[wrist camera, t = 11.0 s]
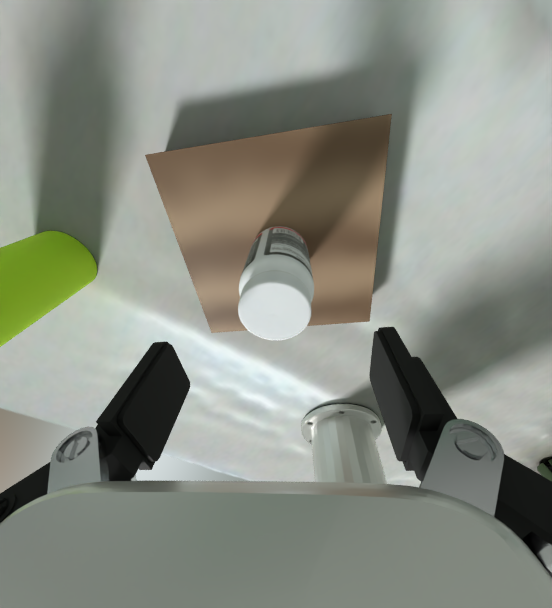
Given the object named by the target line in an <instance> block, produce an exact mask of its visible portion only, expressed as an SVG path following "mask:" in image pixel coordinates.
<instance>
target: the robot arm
mask: <svg viewBox="0 0 552 608" xmlns="http://www.w3.org/2000/svg"><path fill="white" fill-rule="evenodd" d="M370 381H371V384H372V387H373V390H374V393H375V396H376V399H377V402H378V405H379V408H380V411H381V414H382V417H383V419H384V422H385V425H386V428H387V431H388V434H389V437H390V440H391V443H392V446H393V449H394V452H395V455H396V457H397V459H398V461H403V464H404V467H405V469H406V471H415V474H416V476H417V479H419V480H420V481H421V484H420V486H419V488H418V487H412V486H403V485H391V484H387V481H386V478H385V474H384V471H383V467H382V464H381V460H380V456H379V453H378V449H377V446H376V442H375V440H376V439H377V438H378V437H379V435H380V434H381V431H382V426H381V423H380V419H379V418H378V416H377V415H376V414H375V413H374V412H373V411H371V410H369V409H367V408H365V407H362V406H358V405H353V404H333V405H327V406H323V407H320V408H318V409H316V410H314V411H312V412H310V413H309V414H308V415H307V416H306V417H305V418H304V419H303V421H302V424H301V431H302V435H303V437H304V439H305V440H306V441H307V442H309V443H310V444H311V445H312V453H313V466H314V480H315V482H267V481H137V480H136V476H135V474H136V472H137V470H138V469H140V470H152V467H153V465H154V463H155V461H157V460H158V459H159V458H160V456H161V453H162V451H163V449H164V446H165V444H166V442H167V440H168V437H169V435H170V433H171V430H172V428H173V426H174V423H175V421H176V419H177V416H178V414H179V412H180V410H181V407H182V405H183V403H184V400H185V398H186V396H187V393H188V391H189V389H190V381H189V379H188V377H187V375H186V373H185V371H184V369H183V367H182V365H181V362H180V360H179V358H178V356H177V354H176V352H175V350H174V348H173V346H172V345H170V344H169V343H168V342H155V343H153V344H152V345H151V347H150V348H149V350H148V351H147V352H146V354H145V355H144V356H143V358H142V359H141V361H140V362H139V363H138V365H137V366H136V367H135V369H134V370H133V372H132V373H131V374H130V376H129V377H128V378H127V380H126V381H125V383H124V384H123V385H122V387H121V388H120V389H119V391H118V392H117V394H116V395H115V396H114V398H113V399H112V401H111V402H110V403H109V405H108V406H107V407H106V409H105V410H104V412H103V413H102V414H101V416H100V417H99V418H98V420H97V421H96V422H97V424H98V425H97V427H96V428H93V427H84V428H81V429H79V430H76V431H74V432H73V433H71V434H70V435H68V436H67V437H66V438H65V439H64V440H63V441H61V443H60V444H59V445H58V446H57V447H56V449H55V450H54V452H53V454H52V457H51V462H49V463H48V464H46V465H45V466H43V467H42V468H40V469H39V470H37V471H35V472H34V473H32V474H30V475H29V476H27V477H26V478H24V479H23V480H21V481H19V482H18V483H16V484H15V485H13V486H11V487H10V488H8V489H7V490H5V491H4V492H2V493H1V494H0V608H552V481H550V480H548V479H547V478H545V477H543V476H541V475H540V474H538V473H536V472H534V471H533V470H531V469H529V468H527V467H526V466H524V465H522V464H520V463H519V462H517V461H515V460H513V459H512V458H510V457H508V456H506V455H505V454H504V451H503V449H502V446H501V444H500V443H499V441H498V440H497V439H496V438H495V436H494V435H493V434H491V433H490V432H489V431H488V430H487V429H485V428H484V427H482V426H480V425H479V424H477V423H474V422H472V421H469V420H464V419H457V417H456V416H455V414H454V413H453V411H452V409H451V408H450V406H449V404H448V403H447V401H446V400H445V398H444V396H443V395H442V393H441V391H440V390H439V388H438V387H437V385H436V383H435V382H434V380H433V378H432V377H431V375H430V374H429V372H428V370H427V369H426V367H425V365H424V364H423V362H422V361H421V359H420V358H418V357H411V355H410V353H409V352H408V350H407V348H406V346H405V345H404V343H403V341H402V340H401V338H400V336H399V334H398V333H397V331H396V329H395V328H394V327H383V328H379V329H378V331H375V332H374V338H373V347H372V356H371V366H370Z"/></svg>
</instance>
